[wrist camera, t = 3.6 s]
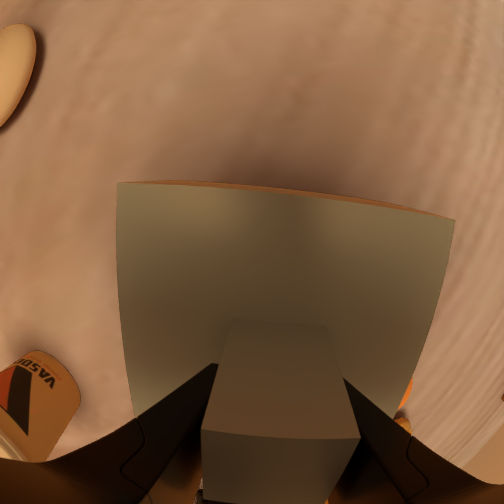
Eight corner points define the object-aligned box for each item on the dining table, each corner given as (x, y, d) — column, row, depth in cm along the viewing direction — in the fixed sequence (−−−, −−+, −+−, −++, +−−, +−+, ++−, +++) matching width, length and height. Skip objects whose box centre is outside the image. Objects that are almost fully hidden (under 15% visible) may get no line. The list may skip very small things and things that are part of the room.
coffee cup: (79, 358, 23) (3, 440, 11) (94, 426, 25) (45, 502, 13) (13, 331, 23) (-60, 387, 11) (32, 397, 25) (-21, 455, 14)
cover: (349, 380, 16) (395, 535, 6) (174, 363, 16) (101, 513, 6) (388, 202, 13) (561, 255, 3) (177, 180, 14) (3, 194, 4)
